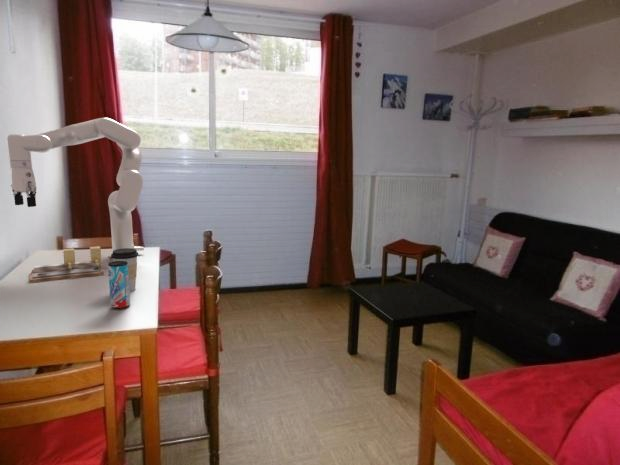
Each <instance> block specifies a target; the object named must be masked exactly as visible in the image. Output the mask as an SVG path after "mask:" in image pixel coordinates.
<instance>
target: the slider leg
mask: <svg viewBox="0 0 620 465" xmlns="http://www.w3.org/2000/svg"><path fill="white" fill-rule="evenodd" d="M62 250H63V251H62V252H63V264H64V265H69V270H72V269H71V264H75V263H76V256H75V247H74V248H63V249H62Z"/></svg>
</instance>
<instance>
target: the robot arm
mask: <svg viewBox="0 0 620 465" xmlns="http://www.w3.org/2000/svg"><path fill="white" fill-rule="evenodd" d="M103 138H107V139H108V140H111V141H112V142H114V143H116V145H118V147H119V148H120V150H121V152H122V158H121V161H120V165H119V169H118V171H117V172H118V173H117V175H116V183H117V185H118V186H119V188H118V190H115V191H112V192H111V193H110V194H109V196H108V199H107V204H108V210H109V220H110V232H111V234H110V235H111V248H112V250H111V251H112V252H109V253H108V255H109V256H108V257H109V258H111V254H113V251H114V250H117V249H124V248H132V249H136V252H141V251H144V250H145V248H144V246H139V245H138V246H135V244H134V233H133V216H132V212H133V211H134V210H135V209H136V207H137V205H138V202H139V200H140V199H139V198H140V197H141V196H140V195H141V193H142V189H143V186H144V185H143V184H144V179H143V176H142V174H141V173H140V169H141V164H142V160H143V155H142V151H141V150H142V149H141V147H140V145H141V143H142V142H141V140H142V138H141V136H140V134H139V133H138V132H137V131H136V130H134V129H132V128H130V127H127V126H126V125H124V124H122V123H119V122H117V121H116V120H114V119H112V118H109V117H99V118H95V119H91V120H87V121H83V122H78V123H74V124H70V125H65V126H64V127H61V128H58V129H54V130H50V131H46V132H41V133H37V134H31V135H30V134H28V135H26V134H19V133H18V134H16V133H15V134H12V133H11V134H9V135H7V139H6V140H7V148H8V158H9V165H10V169H11V183H12V184H10V186H11V189H12V192H13V194H12V195H13V198H14V205H15V206H22V205H24V203H25V202H24V196H23V195H22V194H23V193H25V194H26V196H27V197H26V203H27V204H26V206H27V207H28V208H33V207H34V208H35V207H37V201H36V200H37V199H36V197H37V184H36V178H35V173H34V170H33V162H32V153H31V152H33V153H41V154H43V153H47V152H49V151H50V150H54V149H57V148H61V147H67V146H76V145H81V144H85V143H88V142H92V141H95V140H98V139H103Z"/></svg>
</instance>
